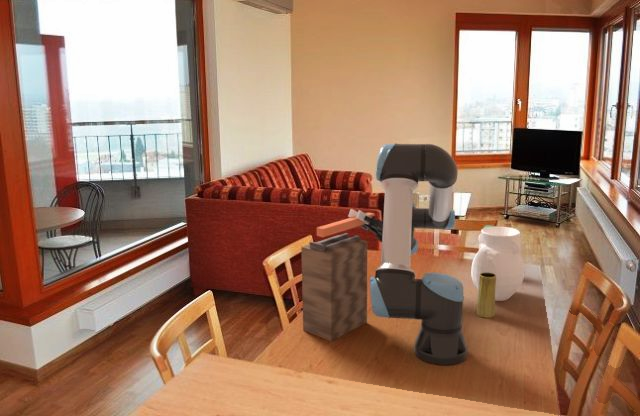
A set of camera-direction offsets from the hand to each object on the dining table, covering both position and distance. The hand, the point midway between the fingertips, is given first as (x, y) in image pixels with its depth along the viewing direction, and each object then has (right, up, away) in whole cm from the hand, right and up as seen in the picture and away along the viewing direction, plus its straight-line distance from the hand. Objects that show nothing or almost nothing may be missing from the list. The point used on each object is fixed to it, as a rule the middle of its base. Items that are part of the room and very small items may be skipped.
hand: (354, 213), depth 183 cm
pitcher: (+54, -31, +25) cm, 67 cm away
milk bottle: (+58, -25, +49) cm, 80 cm away
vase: (+45, -35, +9) cm, 58 cm away
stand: (-6, -37, +1) cm, 37 cm away
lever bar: (-2, -5, -2) cm, 6 cm away
